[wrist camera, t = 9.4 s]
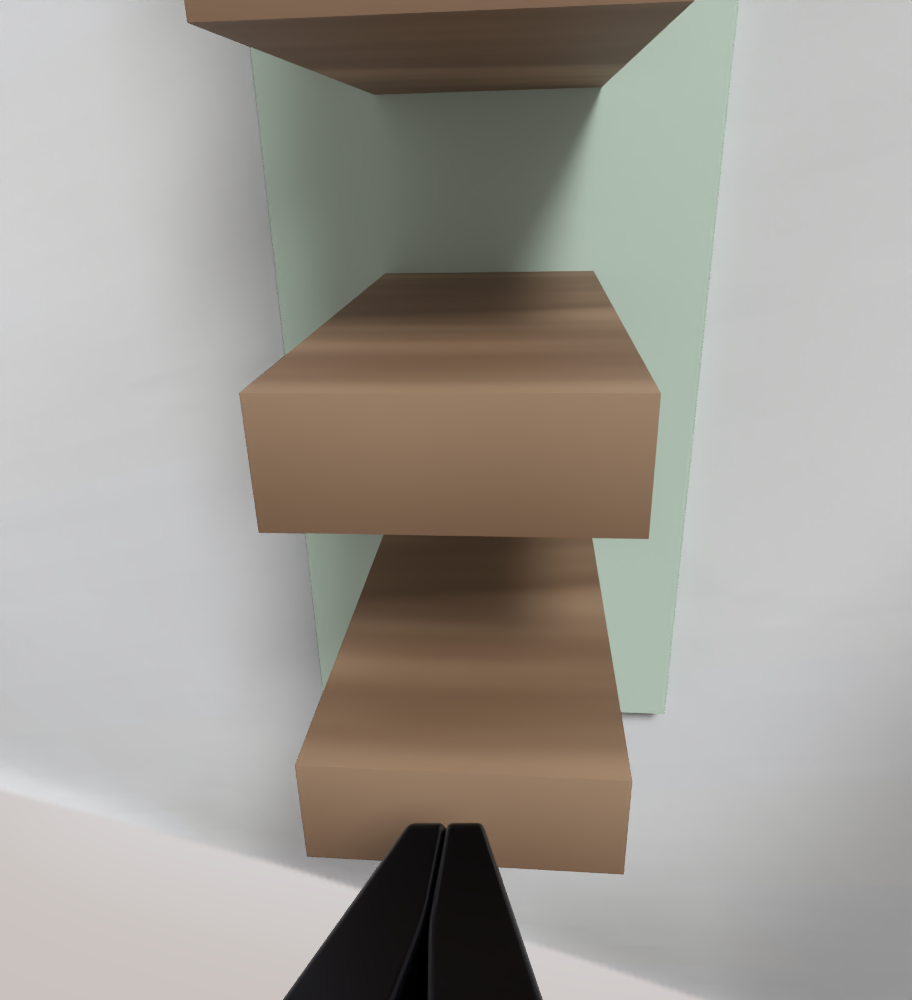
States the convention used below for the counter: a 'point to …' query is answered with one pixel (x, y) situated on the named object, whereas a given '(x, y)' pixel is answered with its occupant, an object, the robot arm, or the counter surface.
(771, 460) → the counter surface
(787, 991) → the counter surface
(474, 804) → the domino
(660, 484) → the board
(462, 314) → the domino
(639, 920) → the counter surface
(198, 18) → the domino
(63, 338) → the counter surface
